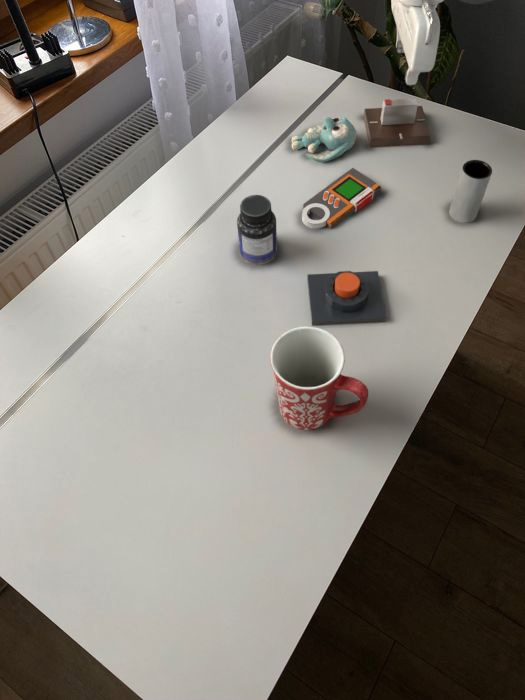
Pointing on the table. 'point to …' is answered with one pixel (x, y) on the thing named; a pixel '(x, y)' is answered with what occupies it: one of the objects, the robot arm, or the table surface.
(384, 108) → the white rectangular block
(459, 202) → the white cylindrical tube
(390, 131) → the panel
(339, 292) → the button
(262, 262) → the pill bottle
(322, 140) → the stuffed animal
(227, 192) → the table surface
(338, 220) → the electronic device
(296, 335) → the mug
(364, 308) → the button box
